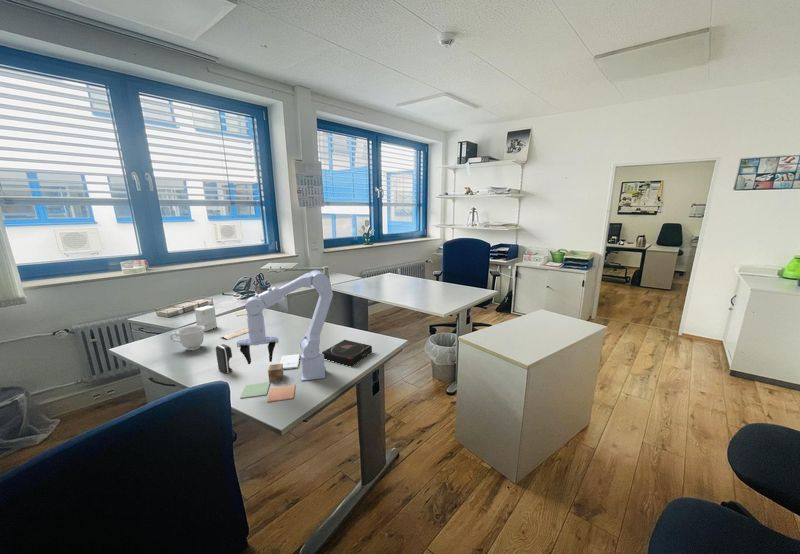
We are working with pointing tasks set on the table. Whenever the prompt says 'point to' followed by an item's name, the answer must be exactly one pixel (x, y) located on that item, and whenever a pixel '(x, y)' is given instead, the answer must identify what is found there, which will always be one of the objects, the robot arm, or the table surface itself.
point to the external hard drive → (290, 361)
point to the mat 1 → (255, 390)
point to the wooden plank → (236, 333)
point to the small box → (206, 317)
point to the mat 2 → (281, 393)
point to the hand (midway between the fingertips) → (260, 361)
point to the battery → (223, 357)
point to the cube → (275, 372)
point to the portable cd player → (347, 352)
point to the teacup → (190, 337)
